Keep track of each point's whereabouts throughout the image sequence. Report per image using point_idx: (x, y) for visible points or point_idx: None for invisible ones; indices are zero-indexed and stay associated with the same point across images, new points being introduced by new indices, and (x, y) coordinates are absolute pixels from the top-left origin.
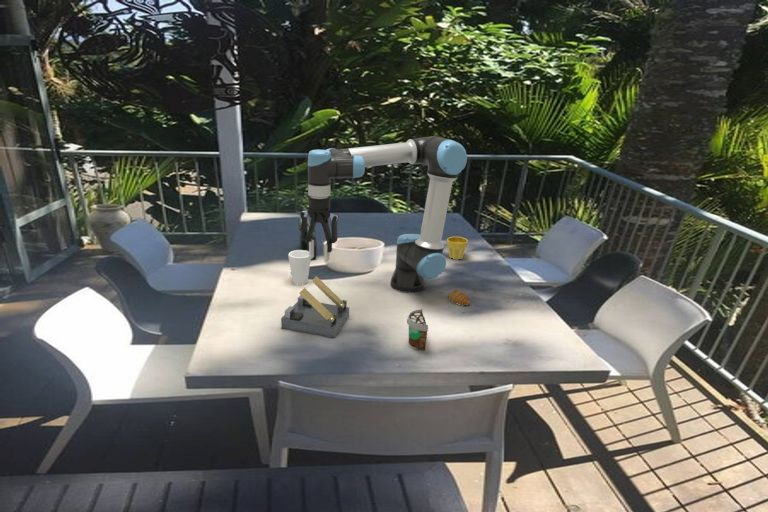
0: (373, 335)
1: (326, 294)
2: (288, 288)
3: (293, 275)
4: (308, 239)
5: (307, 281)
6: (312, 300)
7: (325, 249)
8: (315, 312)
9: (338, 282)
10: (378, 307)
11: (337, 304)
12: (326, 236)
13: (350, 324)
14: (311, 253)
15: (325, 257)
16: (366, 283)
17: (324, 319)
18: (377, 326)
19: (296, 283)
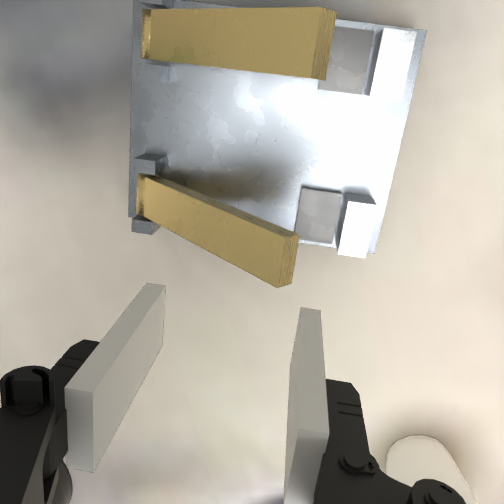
0: (4, 67)
1: (210, 199)
2: (456, 401)
3: (453, 469)
4: (340, 469)
5: (386, 462)
6: (242, 23)
7: (113, 348)
8: (266, 133)
9: (261, 471)
10: (58, 302)
11: (161, 180)
12: (2, 489)
13: (121, 141)
14: (298, 346)
15: (146, 302)
16: (156, 474)
17: (205, 70)
18: (14, 148)
19: (429, 440)
